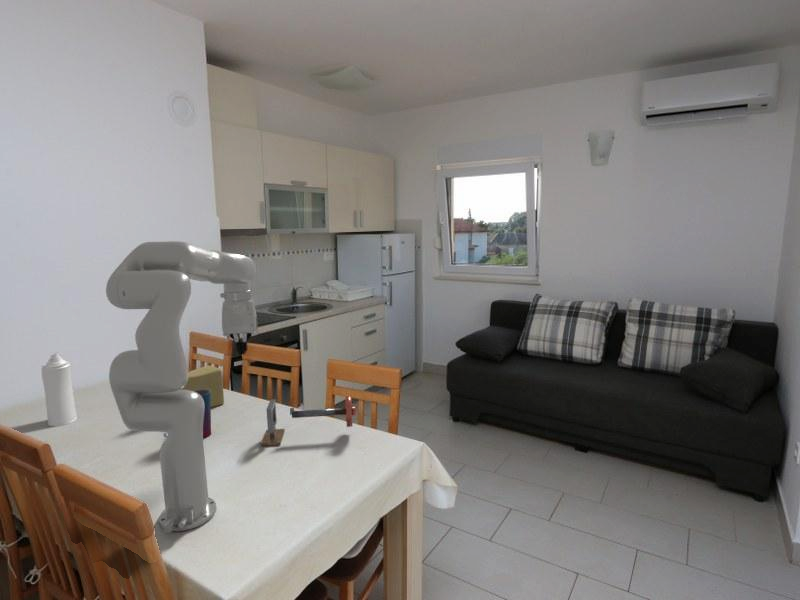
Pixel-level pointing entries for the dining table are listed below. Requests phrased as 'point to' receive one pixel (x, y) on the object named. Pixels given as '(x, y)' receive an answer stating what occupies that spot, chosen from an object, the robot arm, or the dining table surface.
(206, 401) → the cup
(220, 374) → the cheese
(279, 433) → the eye post
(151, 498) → the dining table surface
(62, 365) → the spray can
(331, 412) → the copper disc on rod
